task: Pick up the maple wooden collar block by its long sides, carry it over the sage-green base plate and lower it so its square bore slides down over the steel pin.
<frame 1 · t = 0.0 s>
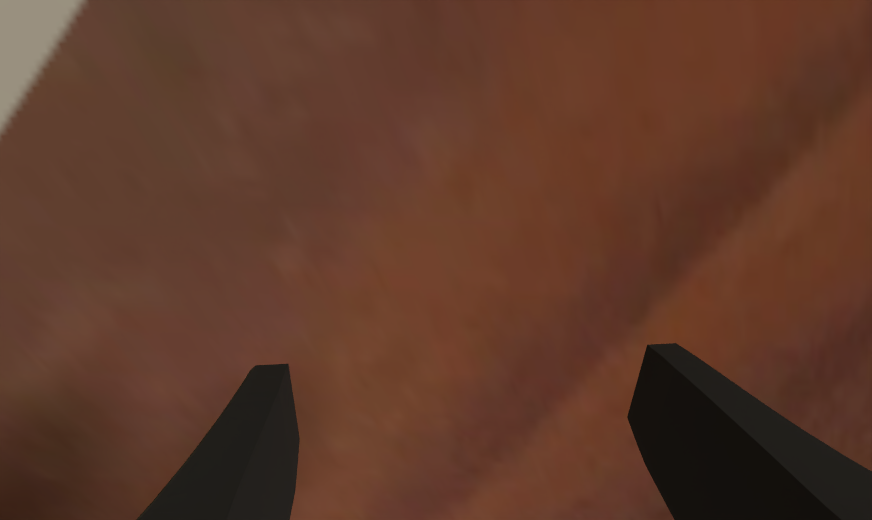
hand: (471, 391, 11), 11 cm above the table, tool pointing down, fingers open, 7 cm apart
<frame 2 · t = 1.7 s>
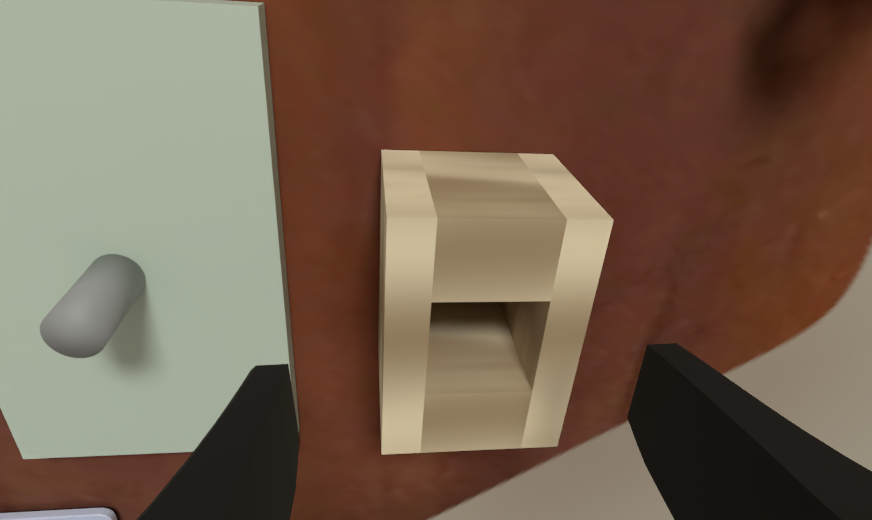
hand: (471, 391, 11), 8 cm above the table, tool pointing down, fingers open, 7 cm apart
pin base: (130, 260, 18), on the table
collar block: (458, 260, 19), on the table
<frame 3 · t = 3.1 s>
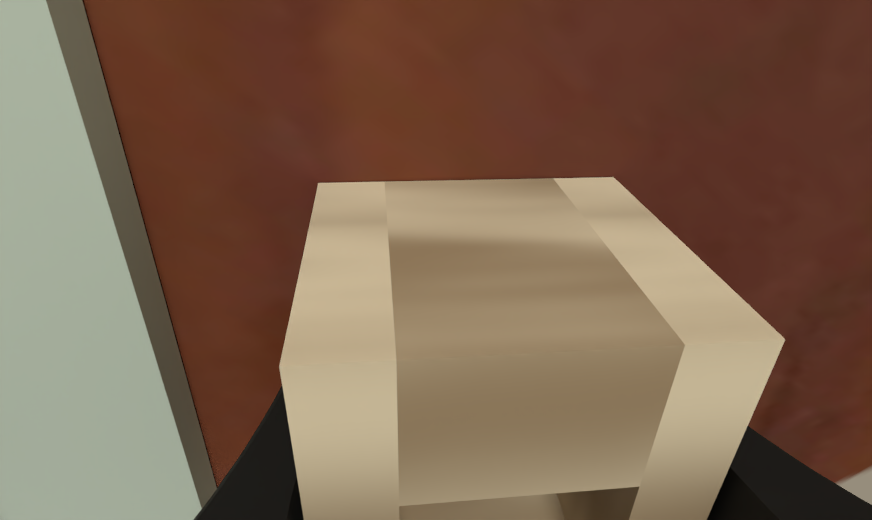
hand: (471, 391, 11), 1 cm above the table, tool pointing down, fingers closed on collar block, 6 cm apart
collar block: (460, 347, 12), on the table, touching gripper
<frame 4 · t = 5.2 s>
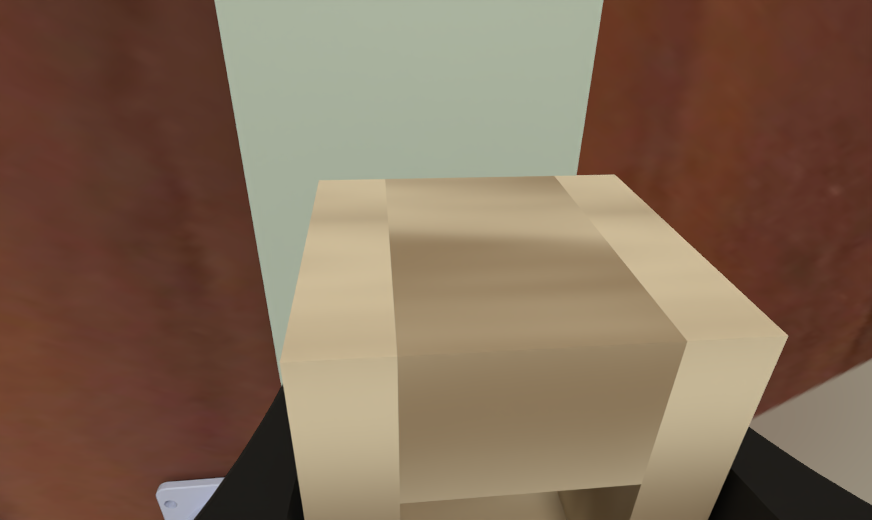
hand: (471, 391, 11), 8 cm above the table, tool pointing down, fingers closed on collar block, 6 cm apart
pin base: (414, 213, 18), on the table
collar block: (461, 345, 12), point 7 cm above the table, touching gripper
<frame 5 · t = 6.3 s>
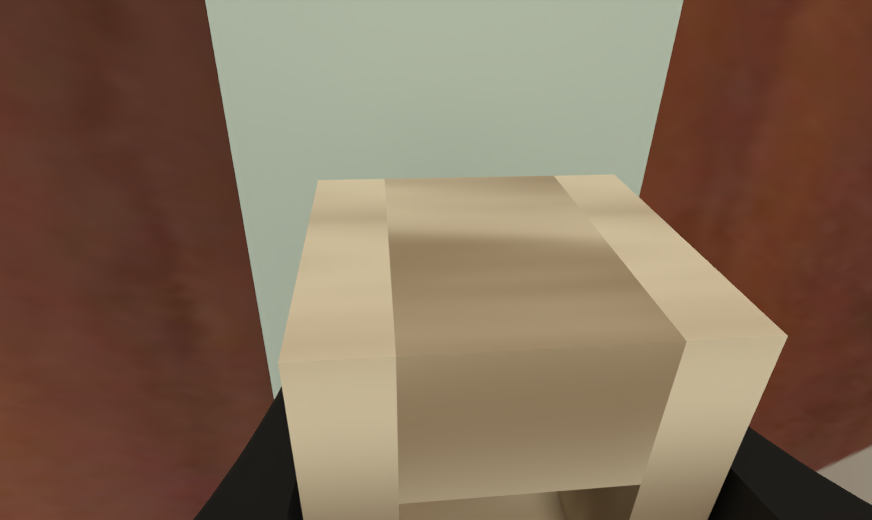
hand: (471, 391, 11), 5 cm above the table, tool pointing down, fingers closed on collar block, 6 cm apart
pin base: (440, 261, 15), on the table
collar block: (460, 345, 12), point 4 cm above the table, touching gripper
when the fingers open (4 cm above the table, at t = 7.2 s): collar block drops 1 cm, resting on pin base.
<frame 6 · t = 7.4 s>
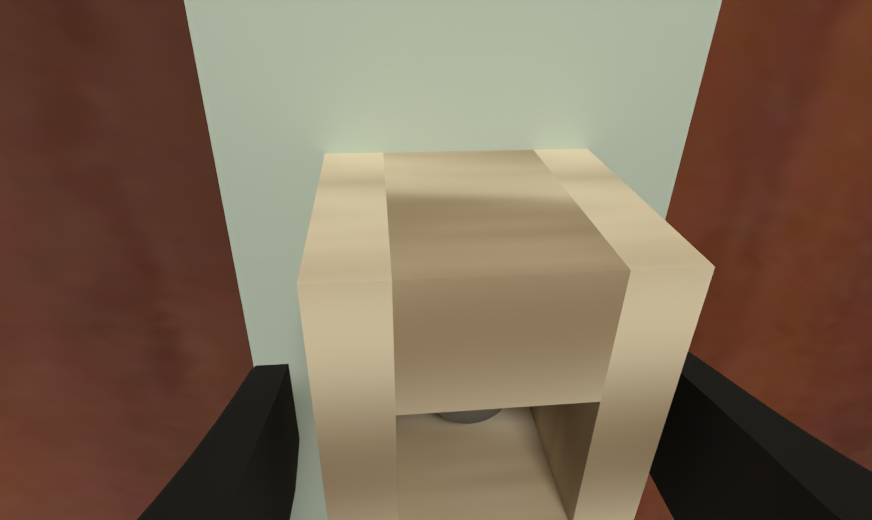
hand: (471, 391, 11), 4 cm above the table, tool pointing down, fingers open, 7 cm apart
pin base: (447, 287, 14), on the table
collar block: (453, 307, 13), point 1 cm above the table, touching pin base
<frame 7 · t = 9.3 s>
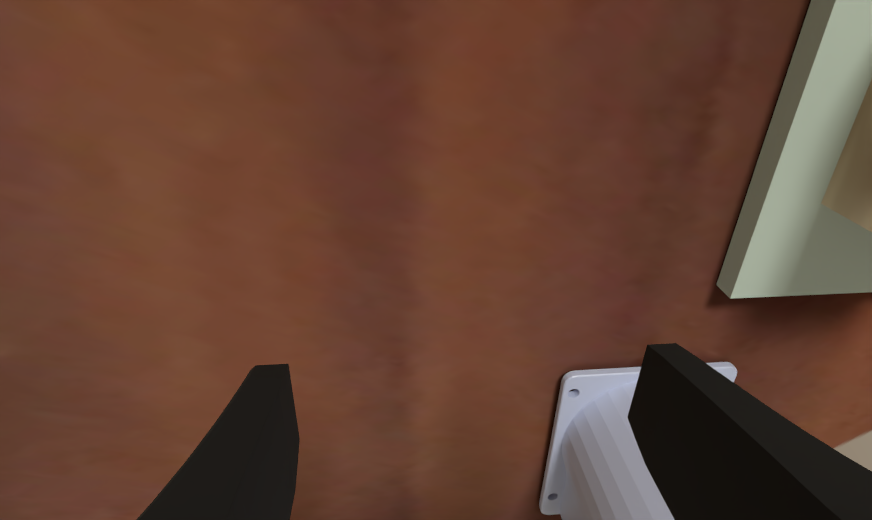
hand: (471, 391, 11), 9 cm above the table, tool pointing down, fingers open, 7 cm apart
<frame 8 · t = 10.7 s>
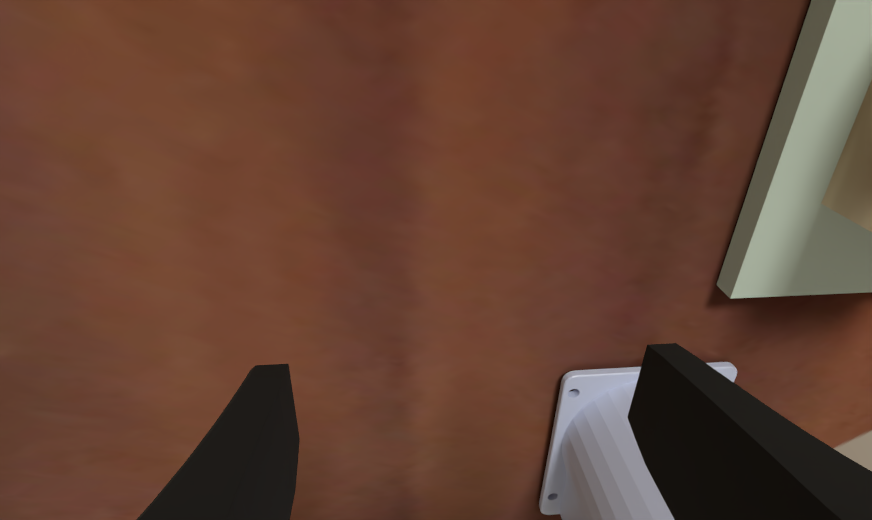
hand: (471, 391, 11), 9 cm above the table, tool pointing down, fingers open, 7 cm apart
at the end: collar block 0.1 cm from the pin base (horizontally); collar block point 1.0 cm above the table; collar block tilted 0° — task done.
